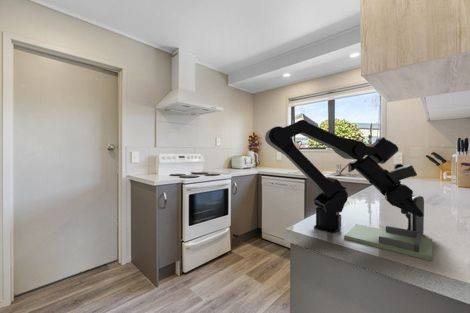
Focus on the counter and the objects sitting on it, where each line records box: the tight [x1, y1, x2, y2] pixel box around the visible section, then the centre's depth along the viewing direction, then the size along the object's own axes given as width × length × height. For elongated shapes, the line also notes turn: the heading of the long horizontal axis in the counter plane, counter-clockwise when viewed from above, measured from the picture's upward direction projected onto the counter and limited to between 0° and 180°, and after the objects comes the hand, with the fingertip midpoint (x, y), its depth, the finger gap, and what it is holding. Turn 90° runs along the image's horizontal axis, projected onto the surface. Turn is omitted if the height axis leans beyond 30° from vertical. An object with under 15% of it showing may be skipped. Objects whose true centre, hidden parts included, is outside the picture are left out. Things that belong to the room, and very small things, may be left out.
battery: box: [400, 194, 425, 235], centre depth 63 cm, size 7×4×11 cm, turn 123°
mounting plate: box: [343, 223, 433, 262], centre depth 58 cm, size 18×13×2 cm
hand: (418, 212), depth 62 cm, fingers open, 8 cm apart
